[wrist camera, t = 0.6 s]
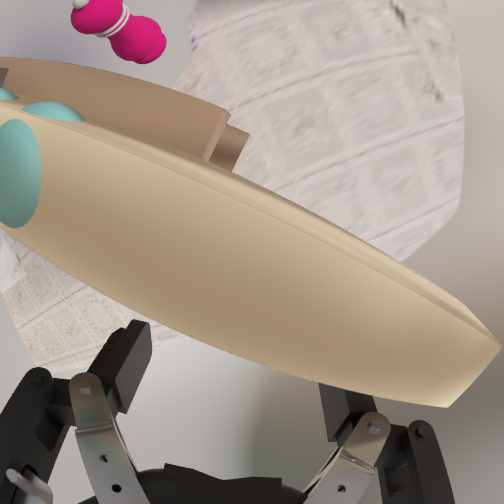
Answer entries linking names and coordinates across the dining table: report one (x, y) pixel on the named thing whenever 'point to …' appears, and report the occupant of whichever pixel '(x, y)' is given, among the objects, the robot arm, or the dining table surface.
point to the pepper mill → (120, 29)
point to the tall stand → (131, 106)
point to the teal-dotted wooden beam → (228, 259)
